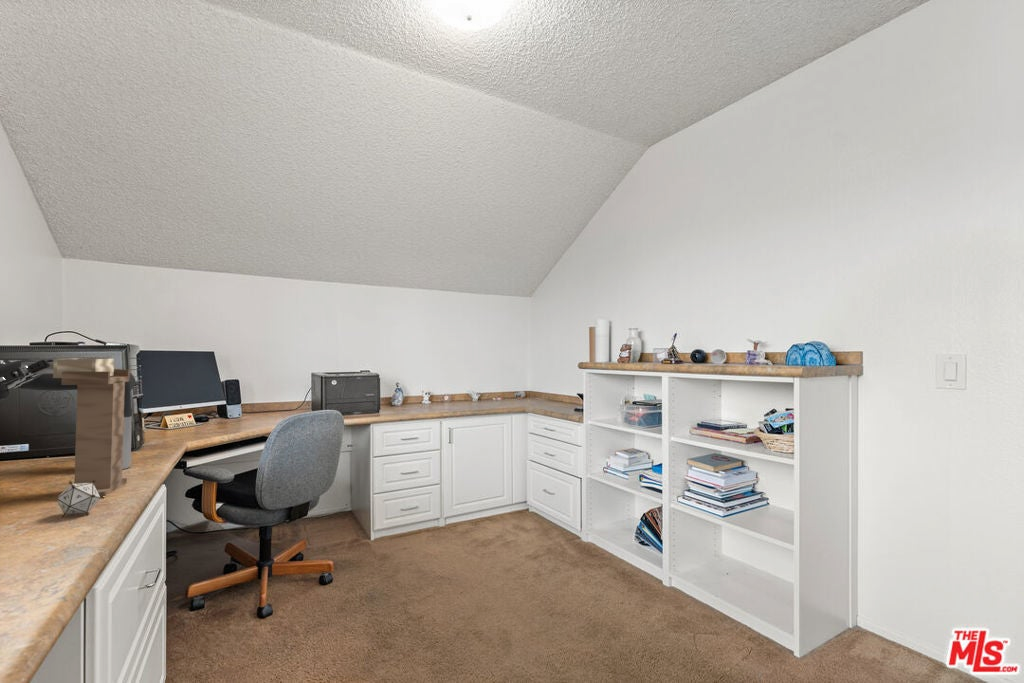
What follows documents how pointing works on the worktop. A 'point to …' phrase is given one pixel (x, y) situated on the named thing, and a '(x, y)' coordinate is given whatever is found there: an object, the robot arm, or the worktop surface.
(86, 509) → the game die
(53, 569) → the worktop surface
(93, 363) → the tray
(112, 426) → the stand
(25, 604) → the worktop surface
